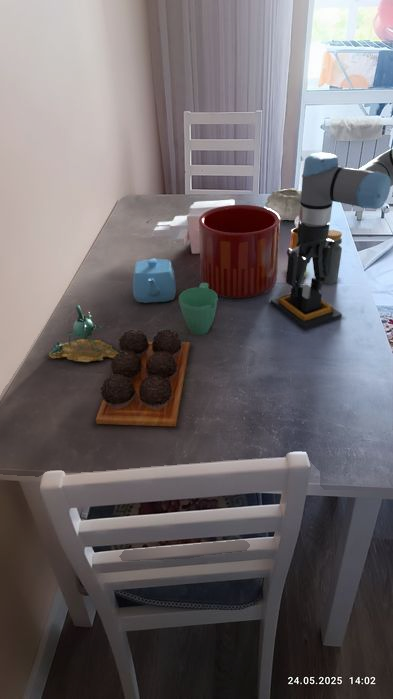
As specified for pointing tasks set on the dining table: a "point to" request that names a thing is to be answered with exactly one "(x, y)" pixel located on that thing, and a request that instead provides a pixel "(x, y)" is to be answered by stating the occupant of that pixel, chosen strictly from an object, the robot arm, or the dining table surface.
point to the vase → (294, 241)
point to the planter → (239, 250)
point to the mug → (198, 308)
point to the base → (306, 313)
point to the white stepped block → (188, 224)
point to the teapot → (154, 281)
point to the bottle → (334, 257)
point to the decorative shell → (285, 203)
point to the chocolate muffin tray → (145, 380)
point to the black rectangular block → (309, 298)
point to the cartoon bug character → (83, 343)
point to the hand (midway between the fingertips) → (305, 303)
